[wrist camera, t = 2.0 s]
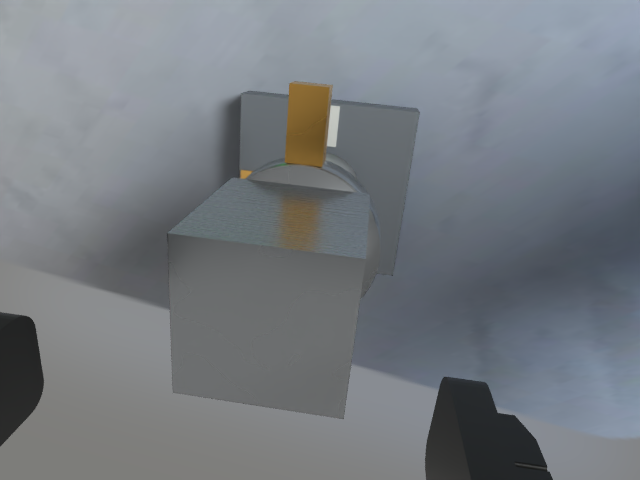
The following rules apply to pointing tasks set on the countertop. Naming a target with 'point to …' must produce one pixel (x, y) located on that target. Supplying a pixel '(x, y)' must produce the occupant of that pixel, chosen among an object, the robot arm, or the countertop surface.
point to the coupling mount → (343, 151)
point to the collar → (275, 276)
